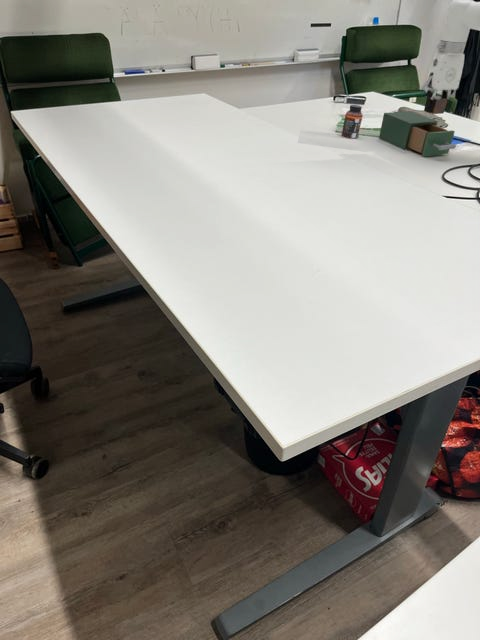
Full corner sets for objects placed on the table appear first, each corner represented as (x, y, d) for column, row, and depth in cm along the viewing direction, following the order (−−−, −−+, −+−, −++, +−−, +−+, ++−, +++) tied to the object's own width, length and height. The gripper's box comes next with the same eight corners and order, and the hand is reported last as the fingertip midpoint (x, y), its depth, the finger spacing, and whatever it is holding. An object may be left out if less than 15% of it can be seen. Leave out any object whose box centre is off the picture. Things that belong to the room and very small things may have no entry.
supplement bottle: (357, 142, 171) (365, 108, 165) (340, 139, 172) (347, 106, 165) (356, 138, 176) (364, 105, 170) (340, 136, 176) (347, 103, 170)
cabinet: (430, 148, 169) (437, 121, 163) (404, 151, 165) (410, 123, 160) (404, 136, 179) (410, 111, 174) (378, 139, 176) (383, 112, 170)
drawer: (457, 157, 158) (464, 134, 154) (432, 160, 155) (439, 137, 150) (421, 142, 171) (427, 120, 167) (398, 144, 168) (403, 122, 163)
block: (434, 110, 159) (438, 95, 156) (443, 113, 156) (447, 98, 153) (423, 110, 157) (427, 96, 155) (433, 114, 154) (437, 99, 152)
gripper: (438, 50, 140) (421, 116, 151) (481, 49, 146) (461, 113, 157) (421, 46, 145) (405, 110, 156) (463, 46, 151) (445, 107, 162)
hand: (434, 111), depth 156 cm, fingers closed on block, 4 cm apart
